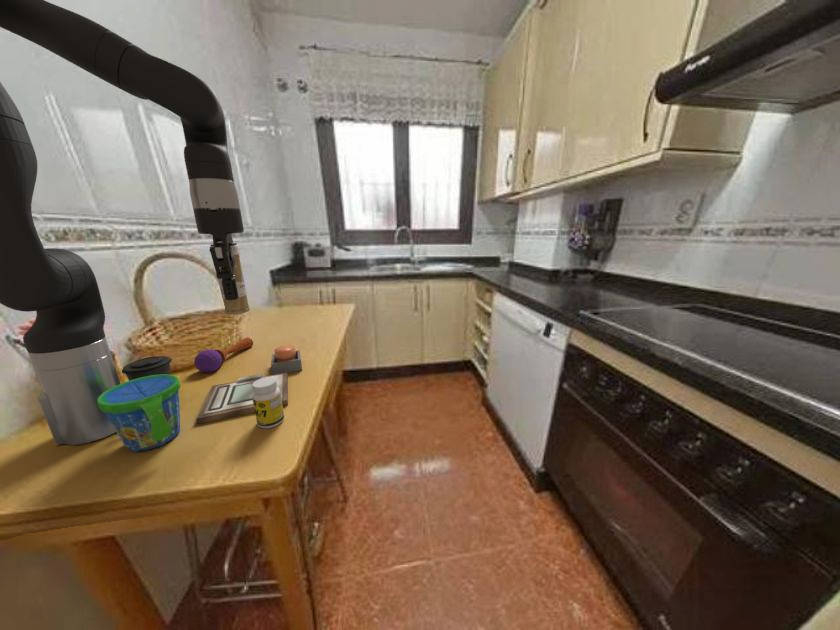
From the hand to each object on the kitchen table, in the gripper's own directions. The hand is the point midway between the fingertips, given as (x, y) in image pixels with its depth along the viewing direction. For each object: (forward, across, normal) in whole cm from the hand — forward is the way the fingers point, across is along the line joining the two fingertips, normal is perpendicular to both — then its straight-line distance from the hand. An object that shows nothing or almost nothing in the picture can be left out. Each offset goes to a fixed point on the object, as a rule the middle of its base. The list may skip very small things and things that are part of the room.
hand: (234, 296), depth 63 cm
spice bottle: (+3, 0, 0) cm, 3 cm away
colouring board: (+23, 0, -1) cm, 23 cm away
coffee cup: (+23, -6, -19) cm, 30 cm away
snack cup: (+23, +9, -15) cm, 29 cm away
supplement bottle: (+23, +12, +4) cm, 26 cm away
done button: (+21, -13, +7) cm, 26 cm away
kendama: (+23, -26, -9) cm, 36 cm away
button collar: (+22, -13, +7) cm, 27 cm away
